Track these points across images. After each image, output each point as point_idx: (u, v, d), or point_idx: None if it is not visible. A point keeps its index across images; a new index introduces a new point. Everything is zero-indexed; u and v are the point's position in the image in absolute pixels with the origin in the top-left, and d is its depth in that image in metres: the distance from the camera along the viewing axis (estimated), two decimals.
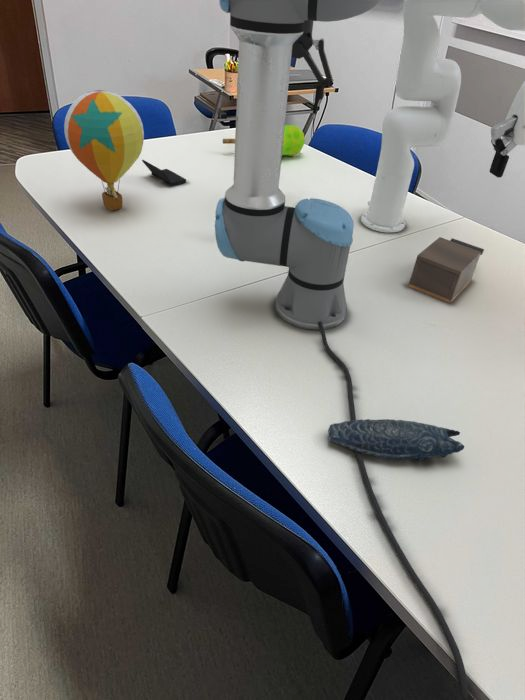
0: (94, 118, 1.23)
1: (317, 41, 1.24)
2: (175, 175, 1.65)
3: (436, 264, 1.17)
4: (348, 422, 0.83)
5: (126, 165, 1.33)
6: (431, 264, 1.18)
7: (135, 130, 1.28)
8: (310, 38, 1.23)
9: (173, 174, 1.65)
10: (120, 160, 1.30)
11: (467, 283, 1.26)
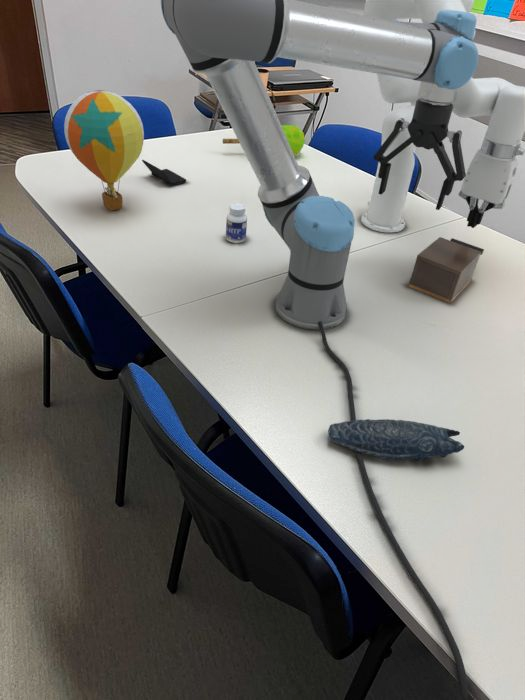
0: (94, 118, 1.23)
1: (452, 133, 1.07)
2: (175, 175, 1.65)
3: (436, 264, 1.17)
4: (348, 422, 0.83)
5: (126, 165, 1.33)
6: (431, 264, 1.18)
7: (135, 130, 1.28)
8: (444, 129, 1.07)
9: (173, 174, 1.65)
10: (120, 160, 1.30)
11: (467, 283, 1.26)
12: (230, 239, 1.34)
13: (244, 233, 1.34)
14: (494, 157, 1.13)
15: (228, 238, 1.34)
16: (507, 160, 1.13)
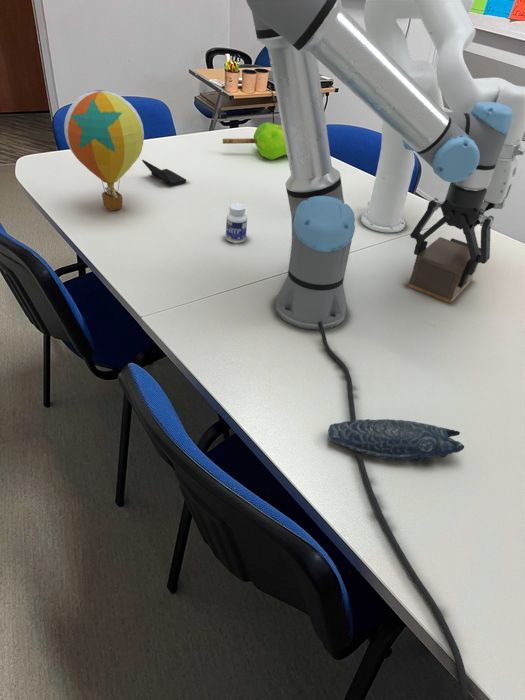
0: (94, 118, 1.23)
1: (484, 218, 1.09)
2: (175, 175, 1.65)
3: (436, 264, 1.17)
4: (348, 422, 0.83)
5: (126, 165, 1.33)
6: (431, 264, 1.18)
7: (135, 130, 1.28)
8: (476, 212, 1.09)
9: (173, 174, 1.65)
10: (120, 160, 1.30)
11: (467, 283, 1.26)
12: (230, 239, 1.34)
13: (244, 233, 1.34)
14: None
15: (228, 238, 1.34)
16: (507, 160, 1.13)
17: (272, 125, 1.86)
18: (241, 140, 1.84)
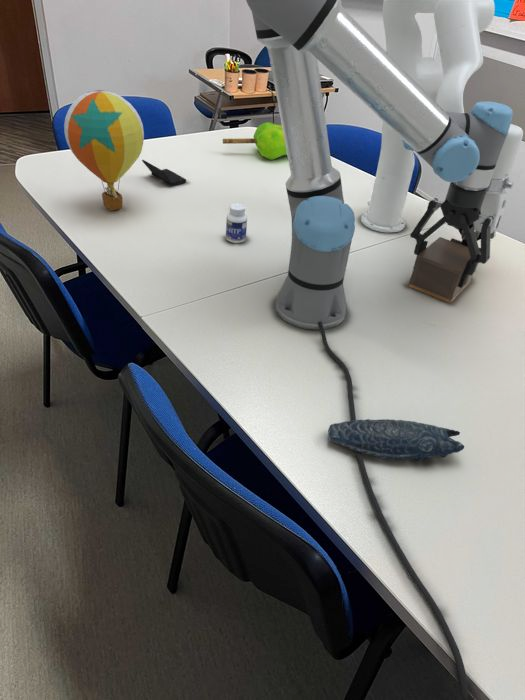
0: (94, 118, 1.23)
1: (484, 218, 1.09)
2: (175, 175, 1.65)
3: (436, 264, 1.17)
4: (348, 422, 0.83)
5: (126, 165, 1.33)
6: (431, 264, 1.18)
7: (135, 130, 1.28)
8: (476, 212, 1.09)
9: (173, 174, 1.65)
10: (120, 160, 1.30)
11: (467, 283, 1.26)
12: (230, 239, 1.34)
13: (244, 233, 1.34)
14: None
15: (228, 238, 1.34)
16: (496, 193, 1.17)
17: (272, 125, 1.86)
18: (241, 140, 1.84)
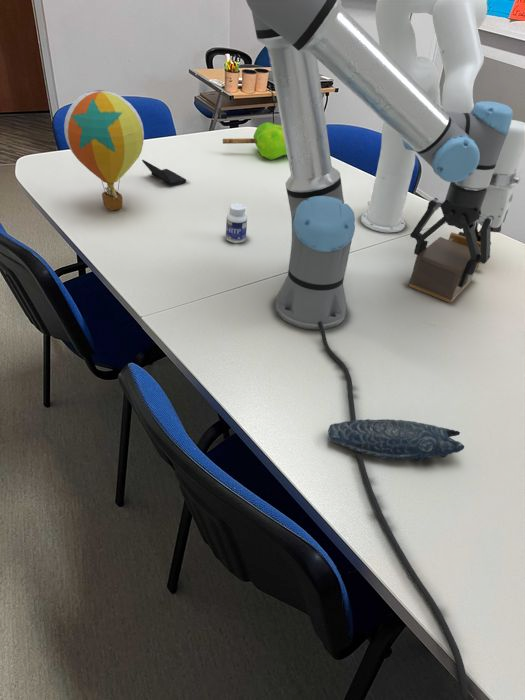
0: (94, 118, 1.23)
1: (484, 218, 1.09)
2: (175, 175, 1.65)
3: (436, 264, 1.17)
4: (348, 422, 0.83)
5: (126, 165, 1.33)
6: (431, 264, 1.18)
7: (135, 130, 1.28)
8: (476, 212, 1.09)
9: (173, 174, 1.65)
10: (120, 160, 1.30)
11: (467, 283, 1.26)
12: (230, 239, 1.34)
13: (244, 233, 1.34)
14: (491, 185, 1.21)
15: (228, 238, 1.34)
16: (504, 188, 1.21)
17: (272, 125, 1.86)
18: (241, 140, 1.84)
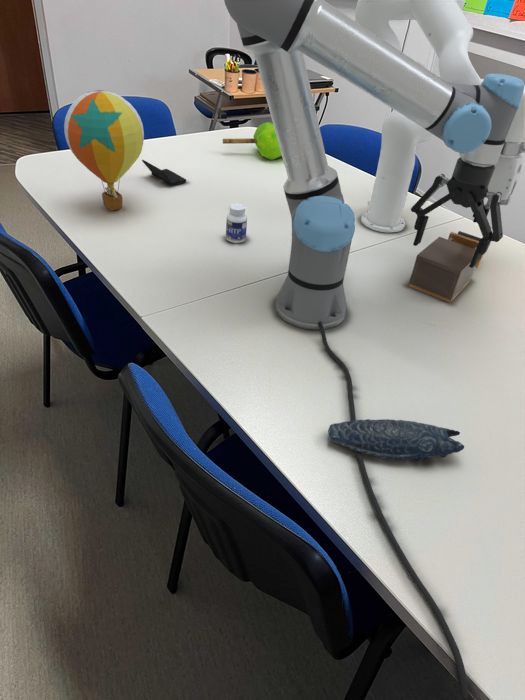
0: (94, 118, 1.23)
1: (492, 194, 1.06)
2: (175, 175, 1.65)
3: (436, 264, 1.17)
4: (348, 422, 0.83)
5: (126, 165, 1.33)
6: (431, 264, 1.18)
7: (135, 130, 1.28)
8: (484, 190, 1.06)
9: (173, 174, 1.65)
10: (120, 160, 1.30)
11: (467, 283, 1.26)
12: (230, 239, 1.34)
13: (244, 233, 1.34)
14: (500, 154, 1.16)
15: (228, 238, 1.34)
16: (512, 157, 1.16)
17: (272, 125, 1.86)
18: (241, 140, 1.84)
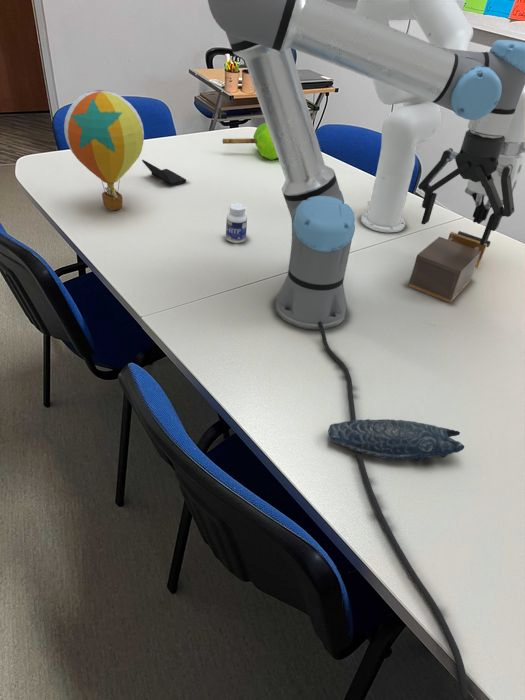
0: (94, 118, 1.23)
1: (502, 167, 1.02)
2: (175, 175, 1.65)
3: (436, 264, 1.17)
4: (348, 422, 0.83)
5: (126, 165, 1.33)
6: (431, 264, 1.18)
7: (135, 130, 1.28)
8: (494, 163, 1.02)
9: (173, 174, 1.65)
10: (120, 160, 1.30)
11: (467, 283, 1.26)
12: (230, 239, 1.34)
13: (244, 233, 1.34)
14: (500, 154, 1.16)
15: (228, 238, 1.34)
16: (512, 157, 1.16)
17: None
18: (241, 140, 1.84)
